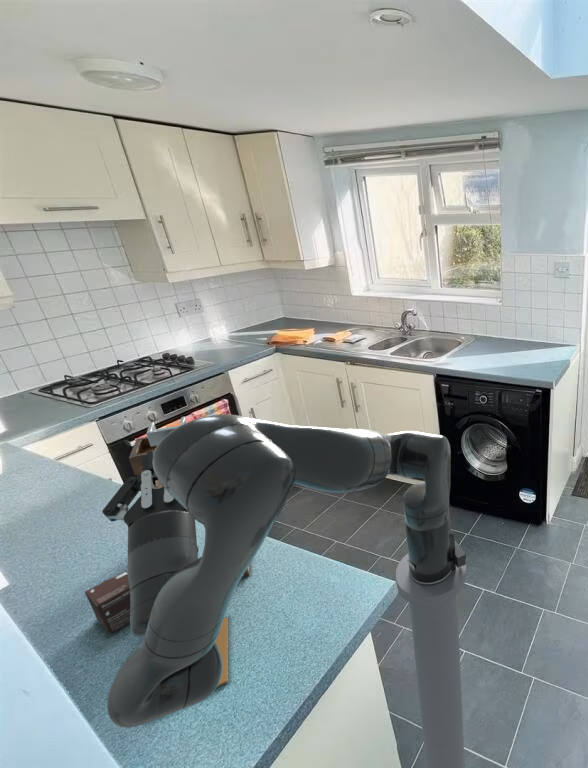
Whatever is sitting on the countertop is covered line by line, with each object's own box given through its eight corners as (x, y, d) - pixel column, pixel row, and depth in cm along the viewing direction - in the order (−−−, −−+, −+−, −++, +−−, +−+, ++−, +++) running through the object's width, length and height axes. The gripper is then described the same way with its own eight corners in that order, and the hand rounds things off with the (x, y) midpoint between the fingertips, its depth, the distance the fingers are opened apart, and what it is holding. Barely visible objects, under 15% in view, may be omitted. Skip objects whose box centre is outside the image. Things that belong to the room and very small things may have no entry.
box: (109, 636, 78) (95, 606, 75) (97, 620, 80) (83, 591, 78) (149, 611, 82) (137, 583, 80) (136, 597, 85) (124, 570, 83)
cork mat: (227, 618, 81) (227, 617, 81) (227, 682, 70) (227, 680, 70) (162, 644, 76) (161, 642, 76) (151, 716, 65) (150, 715, 65)
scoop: (188, 428, 79) (184, 416, 78) (179, 475, 65) (174, 460, 64) (154, 434, 77) (150, 422, 76) (137, 484, 63) (131, 469, 62)
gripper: (216, 524, 60) (205, 428, 69) (86, 562, 53) (93, 450, 62) (227, 544, 65) (216, 452, 74) (110, 581, 58) (113, 475, 67)
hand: (159, 451), depth 68 cm, fingers closed on scoop, 1 cm apart
